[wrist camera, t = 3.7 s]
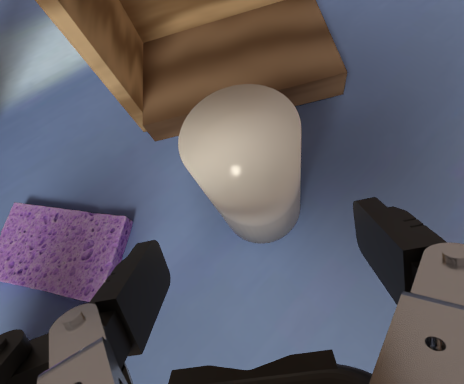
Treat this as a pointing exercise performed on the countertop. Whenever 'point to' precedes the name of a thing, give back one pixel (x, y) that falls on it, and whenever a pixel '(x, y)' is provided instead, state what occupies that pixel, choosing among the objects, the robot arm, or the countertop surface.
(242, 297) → the countertop surface
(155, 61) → the wooden c-shaped stand
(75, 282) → the sponges
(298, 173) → the candle
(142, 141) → the countertop surface
